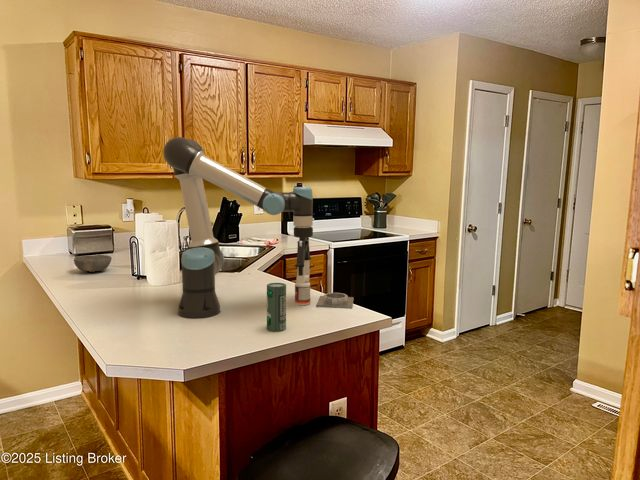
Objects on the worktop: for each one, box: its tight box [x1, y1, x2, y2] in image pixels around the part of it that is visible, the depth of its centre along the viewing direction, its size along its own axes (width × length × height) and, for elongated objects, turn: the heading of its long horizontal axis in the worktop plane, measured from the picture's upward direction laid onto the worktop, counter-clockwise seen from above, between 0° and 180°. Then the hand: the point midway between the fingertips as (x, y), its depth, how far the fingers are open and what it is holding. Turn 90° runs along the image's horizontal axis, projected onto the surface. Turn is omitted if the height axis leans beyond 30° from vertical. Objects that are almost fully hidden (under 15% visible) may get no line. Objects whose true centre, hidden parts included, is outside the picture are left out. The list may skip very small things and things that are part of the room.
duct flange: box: [315, 292, 354, 310], centre depth 189 cm, size 14×14×3 cm
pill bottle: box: [294, 275, 311, 306], centre depth 187 cm, size 6×6×11 cm
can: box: [266, 282, 287, 333], centre depth 156 cm, size 6×6×15 cm
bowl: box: [73, 254, 112, 273], centre depth 243 cm, size 18×18×8 cm
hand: (303, 279), depth 187 cm, fingers open, 13 cm apart
